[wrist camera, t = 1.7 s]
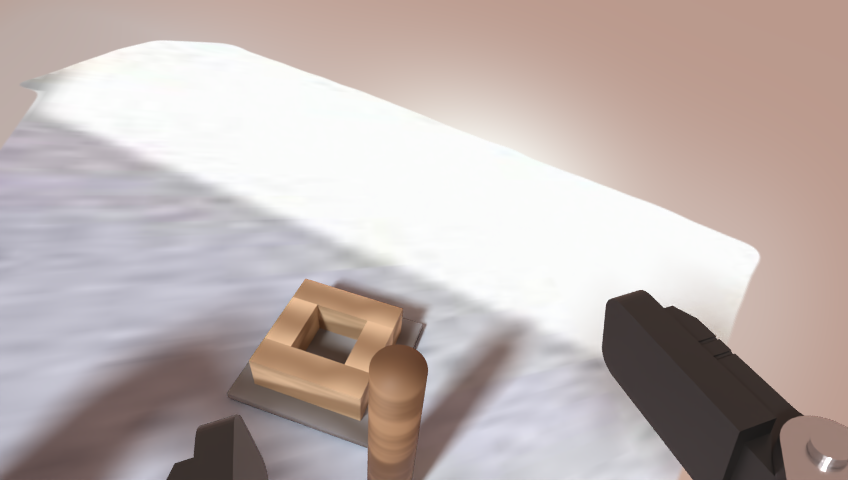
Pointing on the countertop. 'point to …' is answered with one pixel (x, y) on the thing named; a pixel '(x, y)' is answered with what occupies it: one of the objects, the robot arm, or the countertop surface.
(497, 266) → the countertop surface
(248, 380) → the socket block
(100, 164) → the countertop surface
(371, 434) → the peg
